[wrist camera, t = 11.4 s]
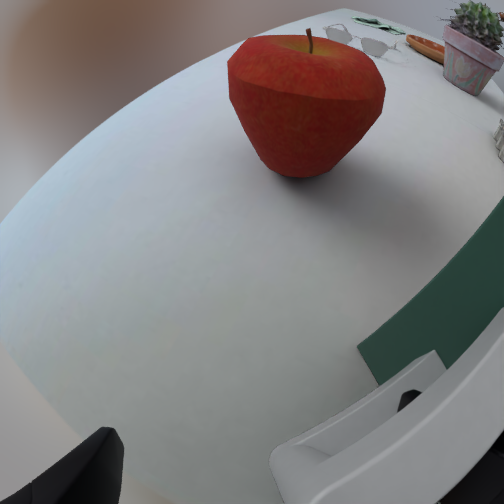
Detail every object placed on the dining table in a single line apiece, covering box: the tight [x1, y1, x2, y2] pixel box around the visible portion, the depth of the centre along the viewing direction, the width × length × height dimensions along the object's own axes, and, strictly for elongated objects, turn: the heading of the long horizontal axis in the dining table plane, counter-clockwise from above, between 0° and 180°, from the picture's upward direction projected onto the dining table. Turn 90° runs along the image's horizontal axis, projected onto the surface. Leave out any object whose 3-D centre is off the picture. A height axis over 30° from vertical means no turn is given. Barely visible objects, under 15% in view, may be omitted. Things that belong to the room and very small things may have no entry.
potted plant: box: [443, 0, 504, 96], centre depth 34 cm, size 18×20×25 cm
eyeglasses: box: [323, 24, 397, 57], centre depth 49 cm, size 15×18×4 cm
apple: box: [227, 28, 386, 178], centre depth 18 cm, size 11×11×12 cm
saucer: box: [406, 35, 445, 64], centre depth 55 cm, size 23×23×4 cm
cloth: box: [352, 16, 405, 34], centre depth 72 cm, size 20×22×2 cm
